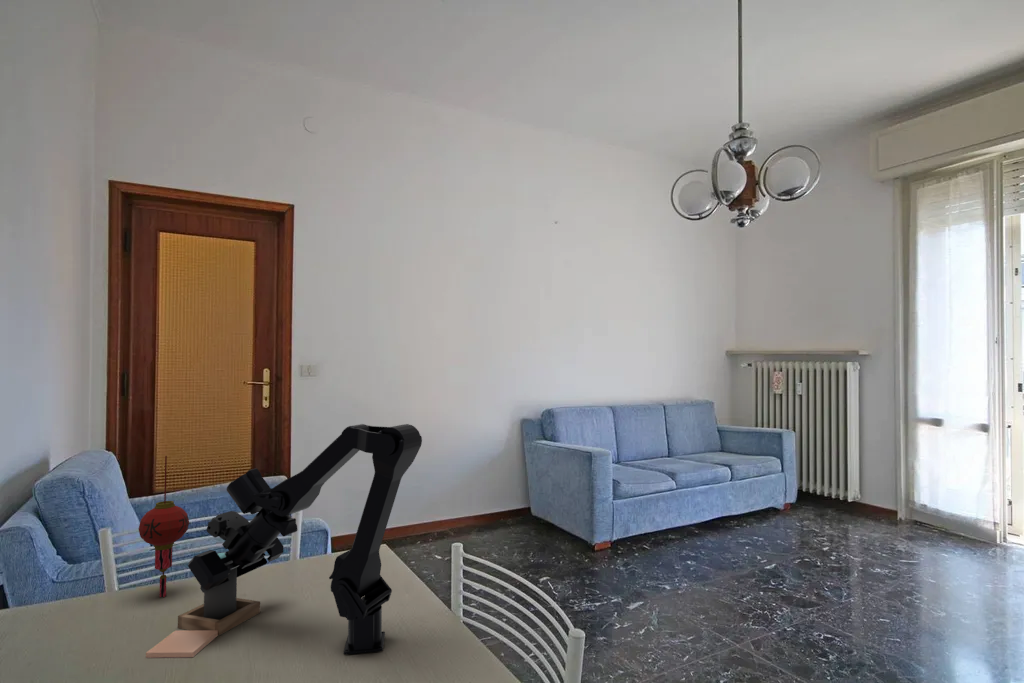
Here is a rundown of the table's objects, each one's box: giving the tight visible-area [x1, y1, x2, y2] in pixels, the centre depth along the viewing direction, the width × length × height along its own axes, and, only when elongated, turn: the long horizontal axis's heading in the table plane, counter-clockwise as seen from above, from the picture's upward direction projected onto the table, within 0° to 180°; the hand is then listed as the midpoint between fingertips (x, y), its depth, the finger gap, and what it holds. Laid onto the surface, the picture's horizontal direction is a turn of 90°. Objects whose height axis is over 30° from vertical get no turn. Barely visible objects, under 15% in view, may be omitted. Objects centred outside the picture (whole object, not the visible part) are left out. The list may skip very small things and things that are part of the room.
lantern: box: [138, 455, 190, 598], centre depth 120 cm, size 10×10×30 cm
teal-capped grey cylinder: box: [203, 552, 238, 620], centre depth 108 cm, size 6×6×12 cm
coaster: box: [145, 630, 219, 659], centre depth 98 cm, size 8×8×1 cm
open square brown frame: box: [177, 597, 261, 636], centre depth 108 cm, size 10×10×2 cm
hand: (215, 584), depth 109 cm, fingers closed on teal-capped grey cylinder, 6 cm apart
